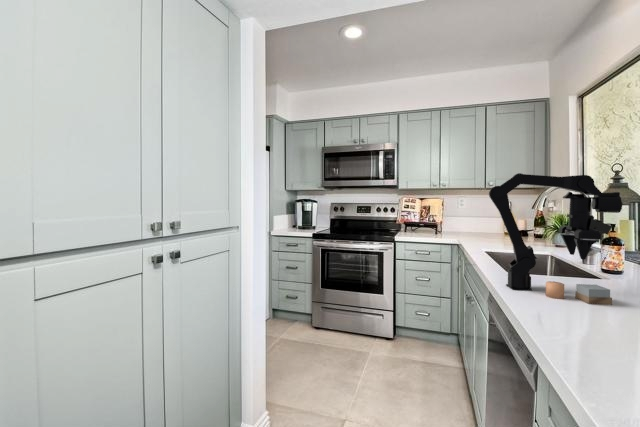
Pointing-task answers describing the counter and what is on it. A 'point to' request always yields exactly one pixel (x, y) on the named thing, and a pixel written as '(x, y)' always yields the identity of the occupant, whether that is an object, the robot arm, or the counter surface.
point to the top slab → (593, 290)
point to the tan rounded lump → (555, 290)
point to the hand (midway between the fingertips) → (577, 256)
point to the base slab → (593, 299)
